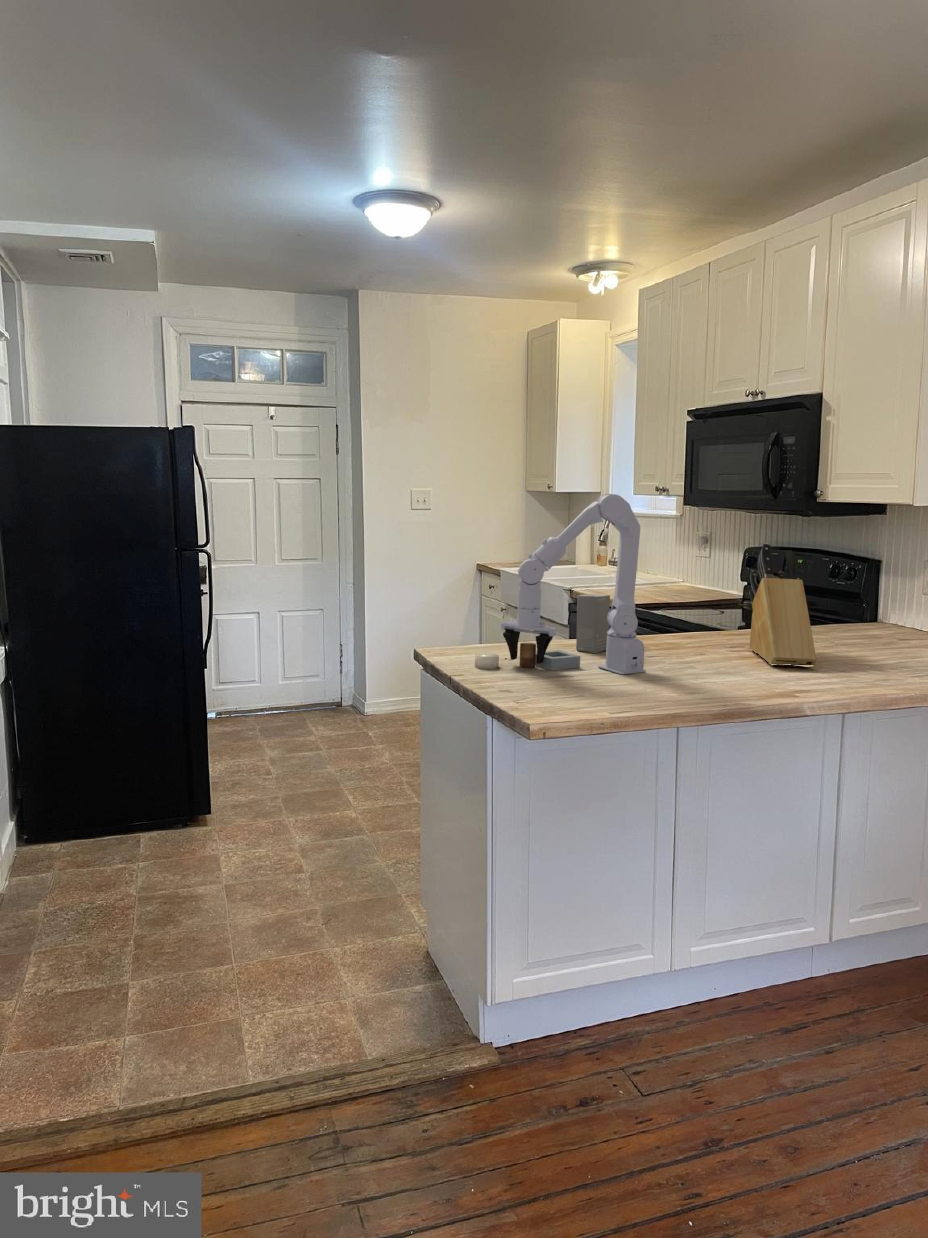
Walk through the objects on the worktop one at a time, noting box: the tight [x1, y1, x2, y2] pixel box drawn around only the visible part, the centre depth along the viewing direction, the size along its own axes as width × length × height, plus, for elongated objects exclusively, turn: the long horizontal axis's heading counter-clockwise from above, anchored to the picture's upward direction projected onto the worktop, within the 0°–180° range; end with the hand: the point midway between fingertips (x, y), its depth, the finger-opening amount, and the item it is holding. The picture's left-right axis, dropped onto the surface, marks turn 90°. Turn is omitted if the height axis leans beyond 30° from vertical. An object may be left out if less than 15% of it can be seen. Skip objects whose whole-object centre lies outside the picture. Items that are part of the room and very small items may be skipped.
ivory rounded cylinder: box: [474, 652, 500, 670], centre depth 226 cm, size 6×6×3 cm
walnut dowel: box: [519, 642, 537, 670], centre depth 226 cm, size 4×4×6 cm
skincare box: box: [575, 593, 611, 654], centre depth 250 cm, size 8×7×16 cm
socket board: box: [535, 649, 581, 671], centre depth 228 cm, size 9×9×3 cm
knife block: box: [748, 542, 817, 666], centre depth 245 cm, size 11×35×31 cm, turn 175°
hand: (526, 661), depth 226 cm, fingers open, 7 cm apart
